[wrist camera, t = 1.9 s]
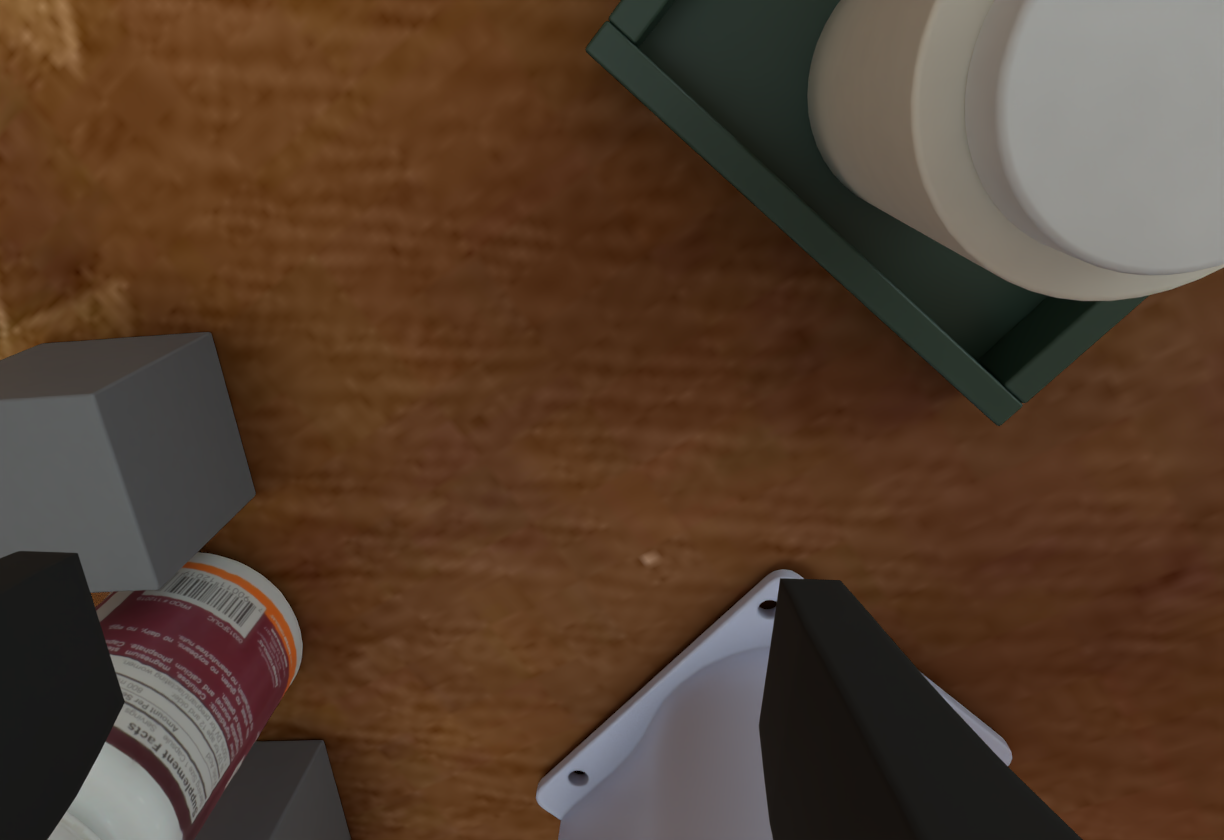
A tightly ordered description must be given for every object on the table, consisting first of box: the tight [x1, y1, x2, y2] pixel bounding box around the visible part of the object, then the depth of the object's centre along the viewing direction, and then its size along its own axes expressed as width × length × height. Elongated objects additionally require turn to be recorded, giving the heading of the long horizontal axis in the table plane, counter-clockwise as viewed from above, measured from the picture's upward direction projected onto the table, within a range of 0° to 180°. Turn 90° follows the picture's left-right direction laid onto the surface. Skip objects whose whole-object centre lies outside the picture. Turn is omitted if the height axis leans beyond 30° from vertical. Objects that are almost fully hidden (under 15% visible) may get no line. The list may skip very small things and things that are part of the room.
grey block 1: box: [0, 332, 256, 593], centre depth 17 cm, size 4×4×4 cm
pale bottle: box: [807, 0, 1224, 301], centre depth 11 cm, size 5×5×8 cm
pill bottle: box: [48, 552, 303, 840], centre depth 17 cm, size 5×5×8 cm
